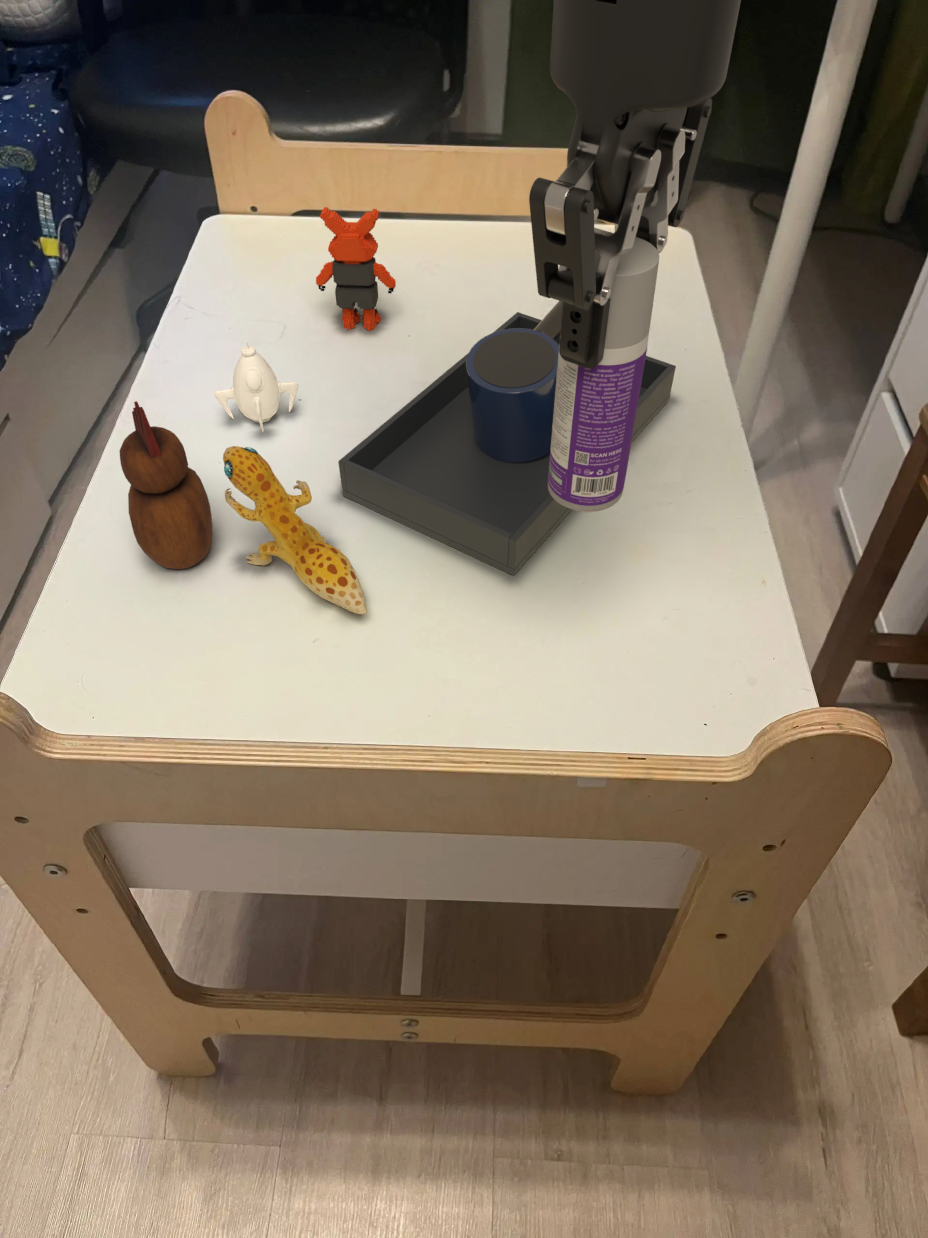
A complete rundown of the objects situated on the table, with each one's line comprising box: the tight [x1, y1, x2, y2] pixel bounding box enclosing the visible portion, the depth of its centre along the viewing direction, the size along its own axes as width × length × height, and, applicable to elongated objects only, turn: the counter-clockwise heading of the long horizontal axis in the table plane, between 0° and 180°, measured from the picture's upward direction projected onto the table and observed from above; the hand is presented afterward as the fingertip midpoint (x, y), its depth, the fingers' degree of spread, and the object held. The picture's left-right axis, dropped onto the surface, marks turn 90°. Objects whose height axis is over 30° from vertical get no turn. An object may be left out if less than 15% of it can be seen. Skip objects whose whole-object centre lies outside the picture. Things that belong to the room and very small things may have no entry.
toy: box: [222, 445, 367, 615], centre depth 68 cm, size 7×15×10 cm, turn 51°
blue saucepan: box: [466, 300, 563, 463], centre depth 80 cm, size 15×8×8 cm, turn 146°
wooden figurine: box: [119, 400, 213, 570], centre depth 68 cm, size 7×6×15 cm
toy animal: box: [315, 206, 396, 332], centre depth 93 cm, size 8×6×12 cm
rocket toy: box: [213, 341, 299, 433], centre depth 82 cm, size 5×5×8 cm
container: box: [548, 237, 660, 513], centre depth 51 cm, size 5×5×15 cm
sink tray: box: [337, 311, 677, 576], centre depth 81 cm, size 17×28×4 cm, turn 146°
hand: (603, 336), depth 49 cm, fingers closed on container, 4 cm apart
